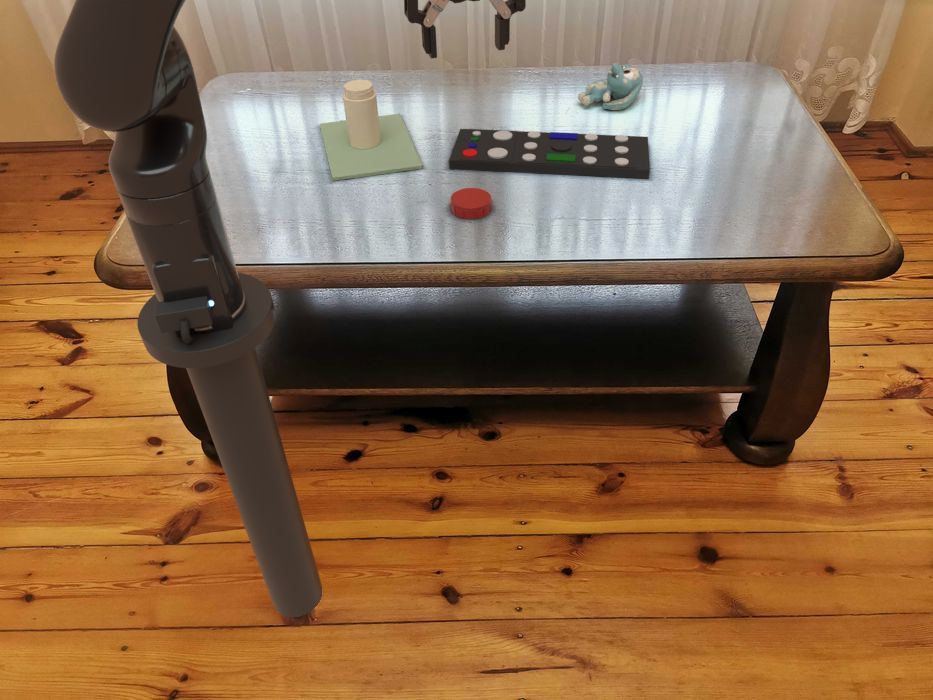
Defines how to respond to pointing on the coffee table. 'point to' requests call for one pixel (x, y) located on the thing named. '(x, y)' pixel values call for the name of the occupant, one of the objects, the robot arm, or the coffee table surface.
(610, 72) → the stuffed animal
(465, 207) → the red lid
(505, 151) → the remote control
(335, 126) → the felt mat
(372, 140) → the beige jar
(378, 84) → the coffee table surface
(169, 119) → the robot arm
